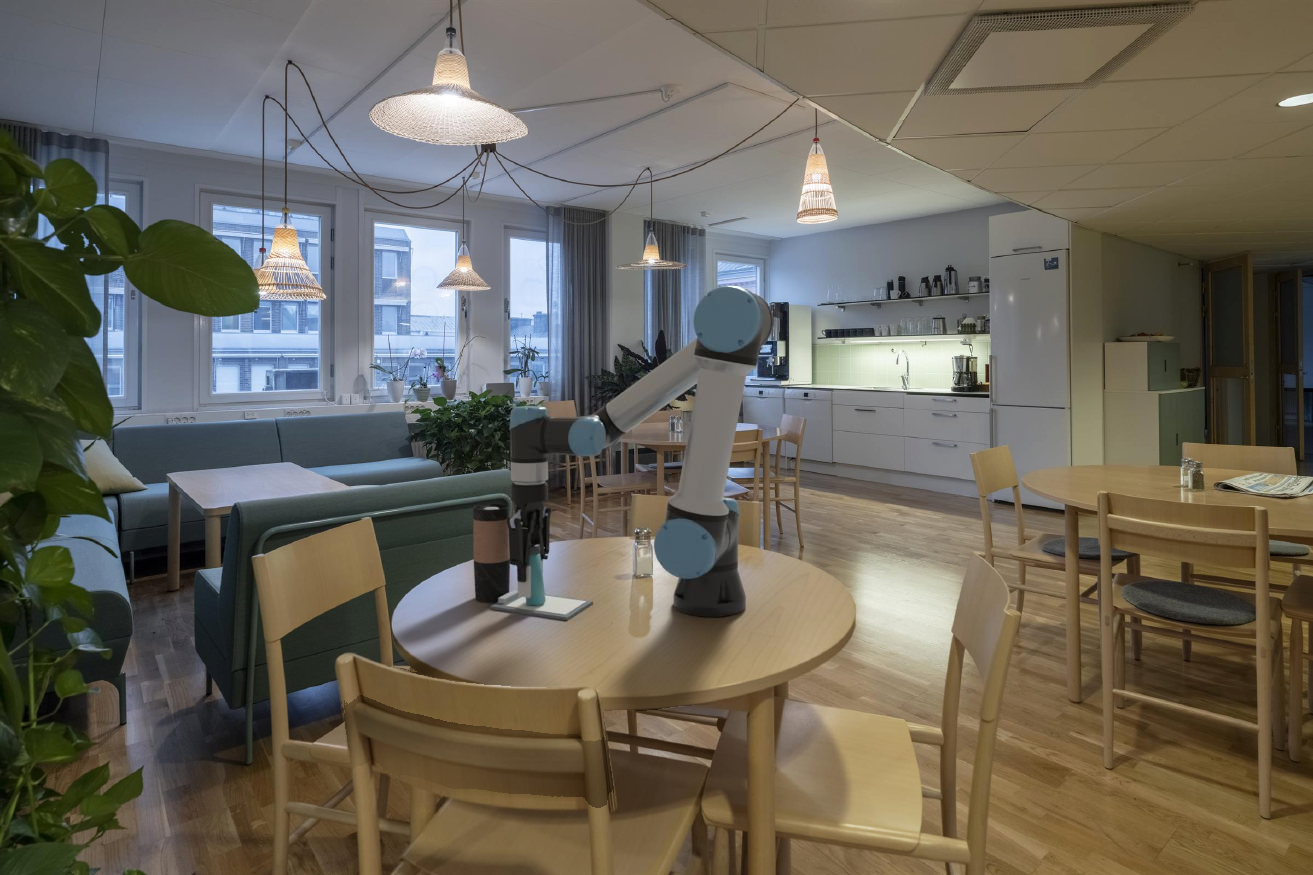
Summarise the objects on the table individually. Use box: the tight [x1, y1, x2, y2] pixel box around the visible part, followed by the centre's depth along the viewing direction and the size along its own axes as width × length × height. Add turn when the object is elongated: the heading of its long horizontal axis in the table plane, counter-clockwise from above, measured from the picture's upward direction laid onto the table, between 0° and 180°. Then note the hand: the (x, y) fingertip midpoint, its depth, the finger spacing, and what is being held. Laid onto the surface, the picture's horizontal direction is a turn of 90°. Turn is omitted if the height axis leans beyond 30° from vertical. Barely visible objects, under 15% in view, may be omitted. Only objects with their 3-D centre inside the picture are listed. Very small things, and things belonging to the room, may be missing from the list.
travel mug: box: [472, 502, 511, 604], centre depth 157 cm, size 8×8×20 cm
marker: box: [526, 543, 546, 605], centre depth 152 cm, size 4×4×12 cm
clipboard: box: [490, 589, 594, 621], centre depth 153 cm, size 18×11×2 cm, turn 68°
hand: (530, 592), depth 152 cm, fingers closed on marker, 4 cm apart
